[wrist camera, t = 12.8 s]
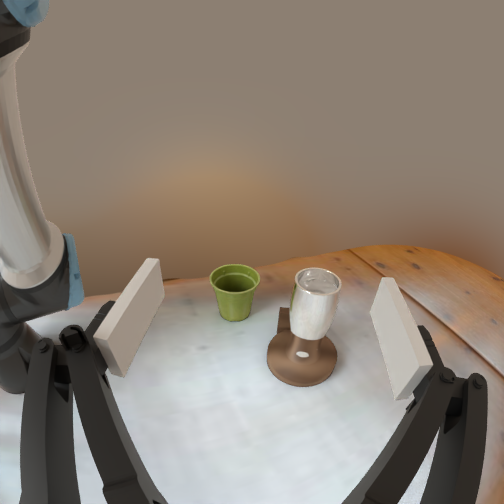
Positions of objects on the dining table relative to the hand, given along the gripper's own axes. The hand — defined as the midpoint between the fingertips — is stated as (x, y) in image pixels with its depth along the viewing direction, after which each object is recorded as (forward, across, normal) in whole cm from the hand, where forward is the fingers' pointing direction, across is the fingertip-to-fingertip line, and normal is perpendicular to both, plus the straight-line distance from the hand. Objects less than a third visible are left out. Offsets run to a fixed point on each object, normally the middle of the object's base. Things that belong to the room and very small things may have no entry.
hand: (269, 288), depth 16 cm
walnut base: (+18, +7, -29) cm, 35 cm away
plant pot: (+30, -6, -30) cm, 42 cm away
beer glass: (+18, +7, -27) cm, 34 cm away
